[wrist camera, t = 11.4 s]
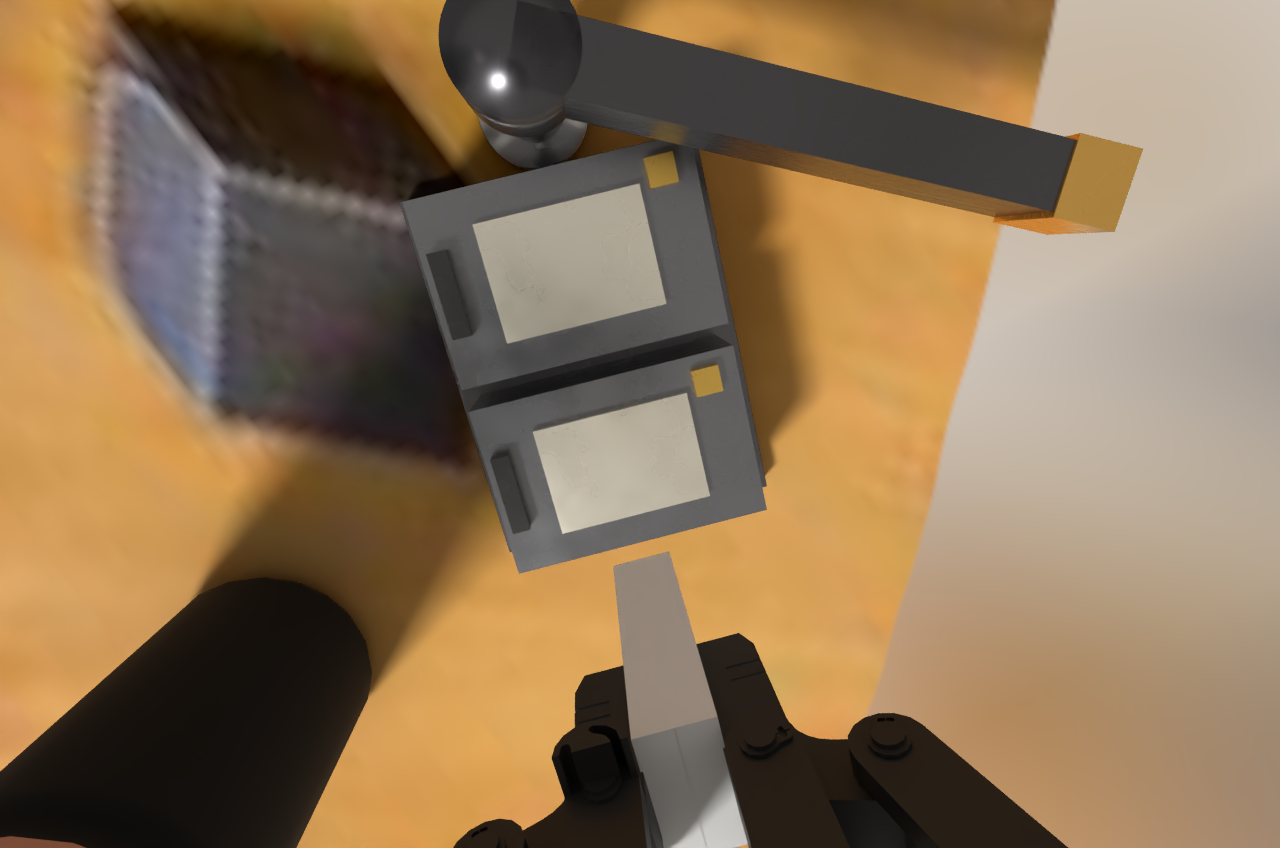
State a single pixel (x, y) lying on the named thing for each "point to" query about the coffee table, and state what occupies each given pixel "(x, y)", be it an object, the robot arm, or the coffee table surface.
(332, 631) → the coffee jar
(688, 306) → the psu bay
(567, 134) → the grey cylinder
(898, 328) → the coffee table surface
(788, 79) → the swing arm
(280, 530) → the coffee table surface
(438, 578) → the coffee table surface
